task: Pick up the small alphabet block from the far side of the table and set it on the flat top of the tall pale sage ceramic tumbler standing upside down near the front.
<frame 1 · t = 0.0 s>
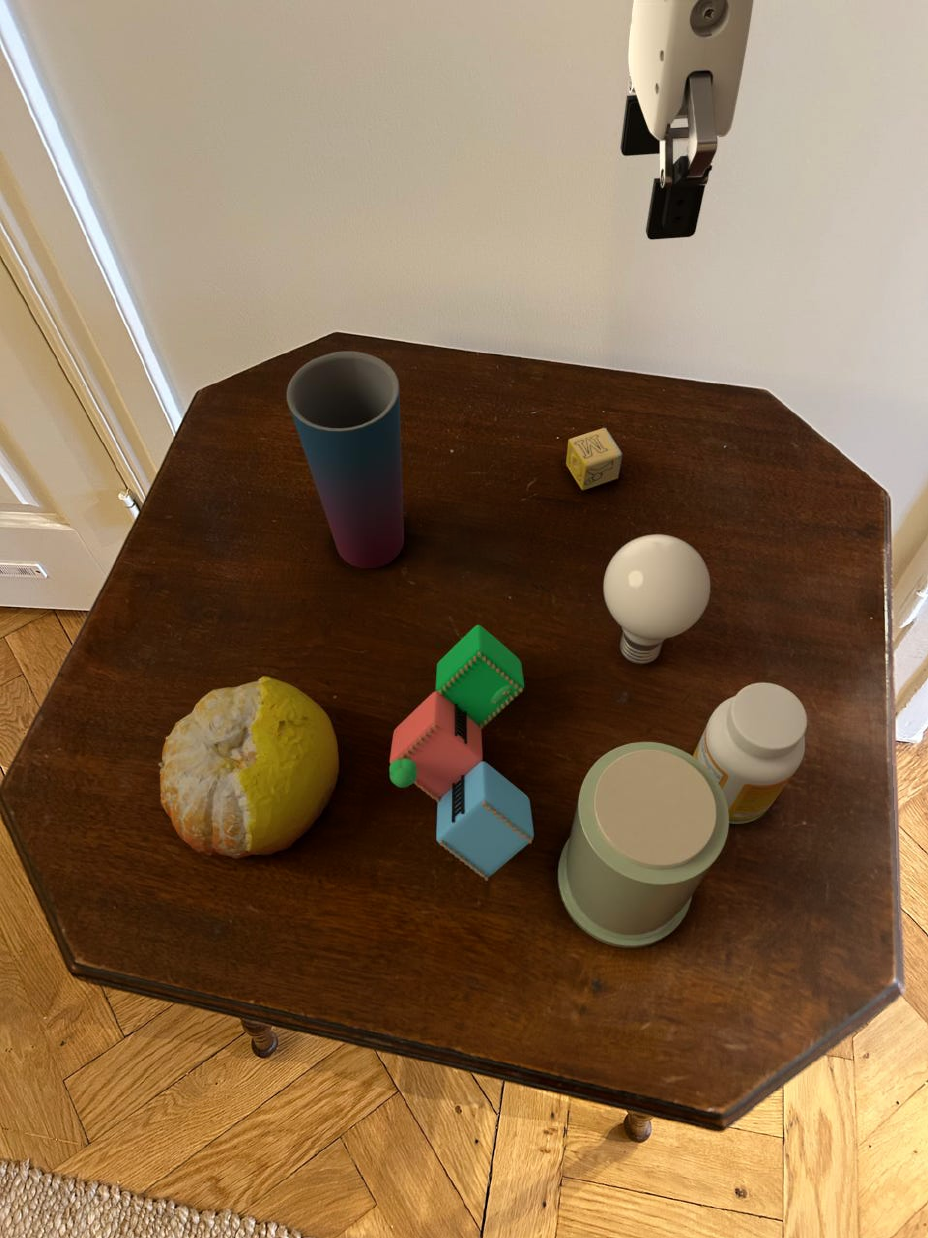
hand: (655, 192, 63), 16 cm above the table, tool pointing down, fingers open, 9 cm apart
building blocks: (481, 768, 58), on the table
alphabet block: (591, 474, 70), on the table
fruit: (256, 783, 57), on the table
upturned tumbler: (655, 805, 43), on the table
supplement bottle: (728, 785, 56), on the table
cup: (370, 543, 67), on the table
lightbulb: (638, 653, 62), on the table
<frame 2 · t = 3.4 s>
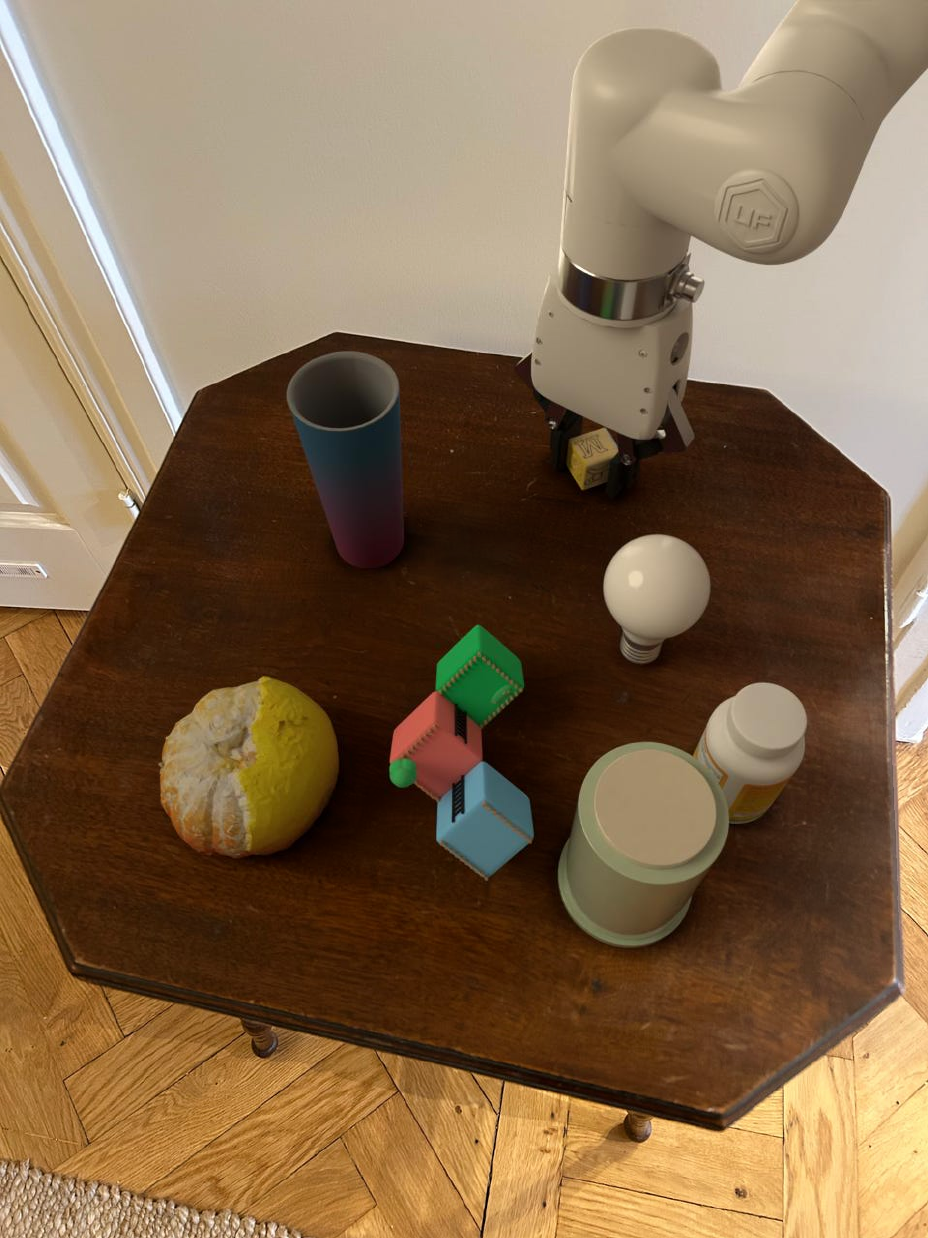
hand: (592, 469, 70), 0 cm above the table, tool pointing down, fingers closed on alphabet block, 4 cm apart
alphabet block: (591, 474, 70), on the table, touching gripper
everything else where it was.
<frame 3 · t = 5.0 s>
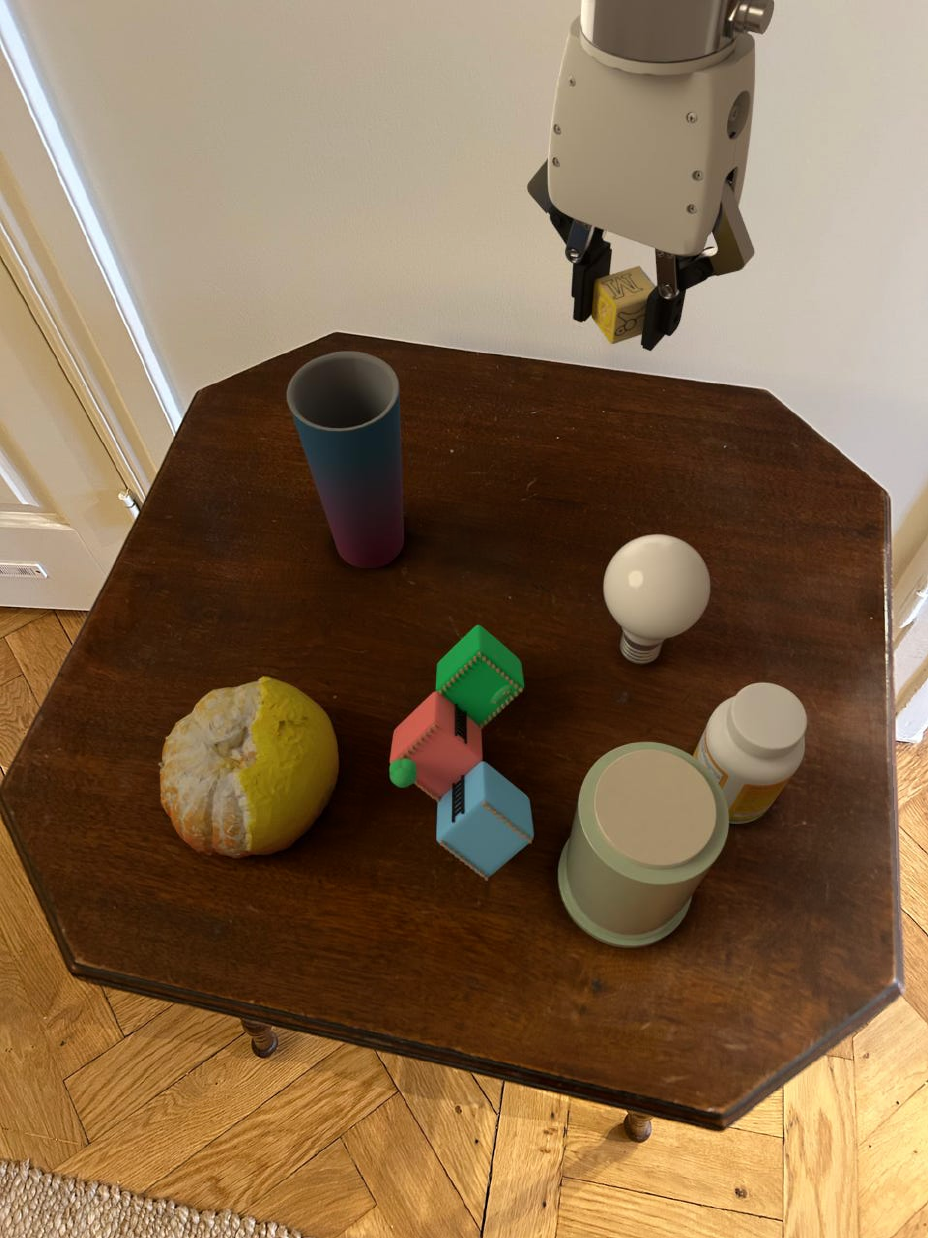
hand: (623, 320, 57), 15 cm above the table, tool pointing down, fingers closed on alphabet block, 4 cm apart
alphabet block: (622, 327, 58), point 14 cm above the table, touching gripper
everything else where it was.
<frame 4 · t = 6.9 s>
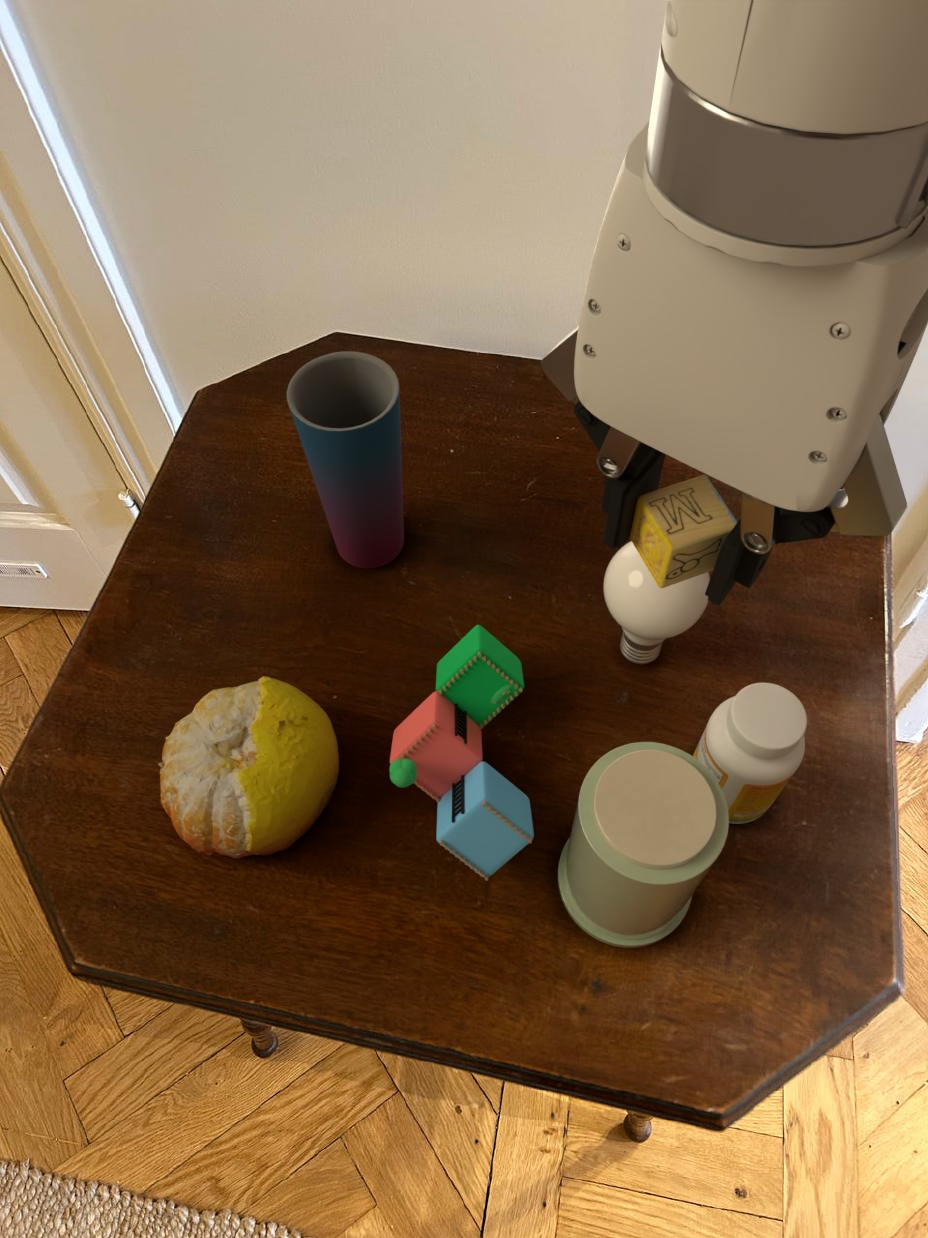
hand: (678, 549, 39), 22 cm above the table, tool pointing down, fingers closed on alphabet block, 4 cm apart
alphabet block: (675, 556, 39), point 22 cm above the table, touching gripper
everything else where it was.
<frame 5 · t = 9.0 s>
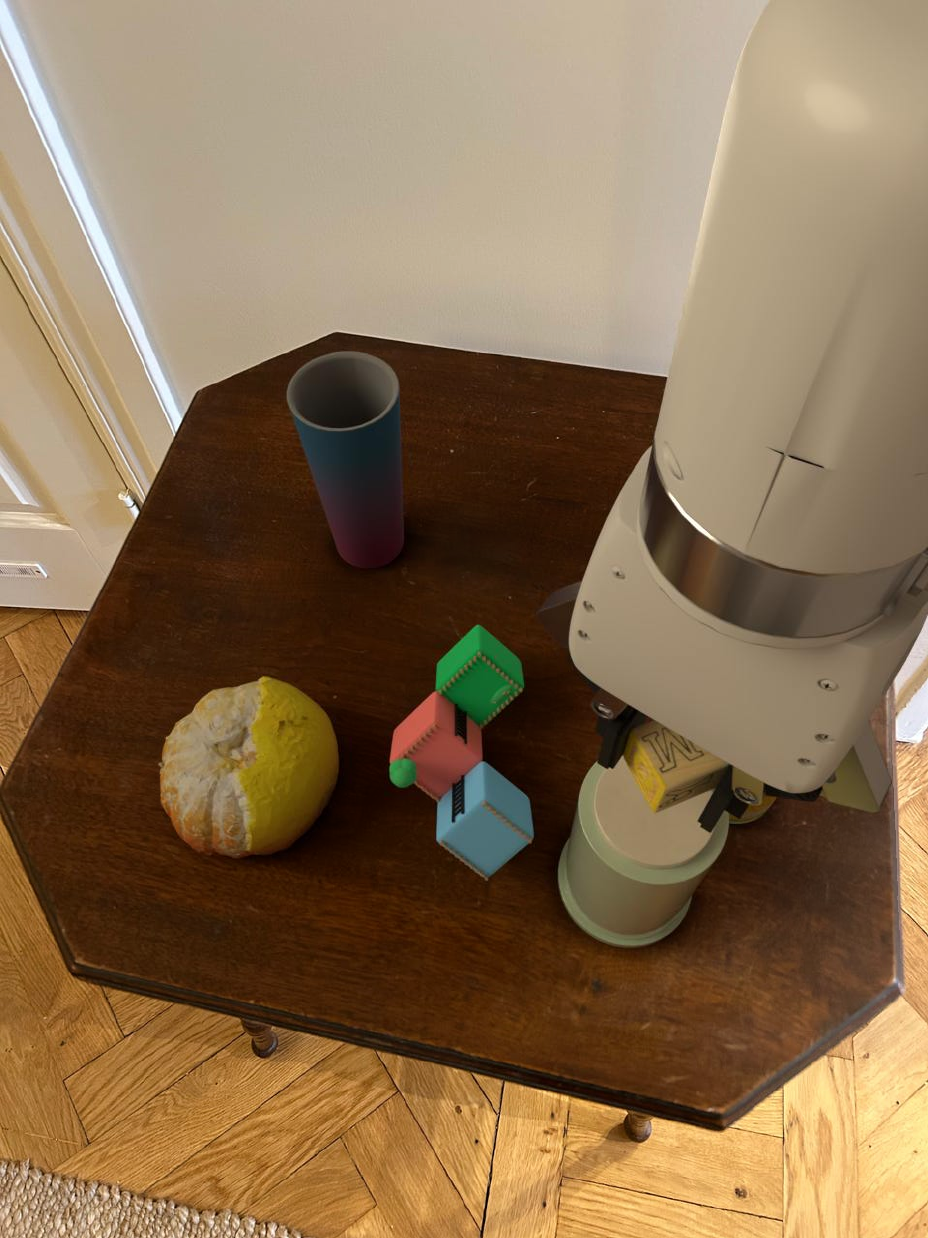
hand: (670, 770, 40), 16 cm above the table, tool pointing down, fingers closed on alphabet block, 4 cm apart
alphabet block: (667, 775, 40), point 16 cm above the table, touching gripper
everything else where it was.
when the fingers open (12 cm above the table, at t = 10.3 s): alphabet block stays where it is, resting on upturned tumbler.
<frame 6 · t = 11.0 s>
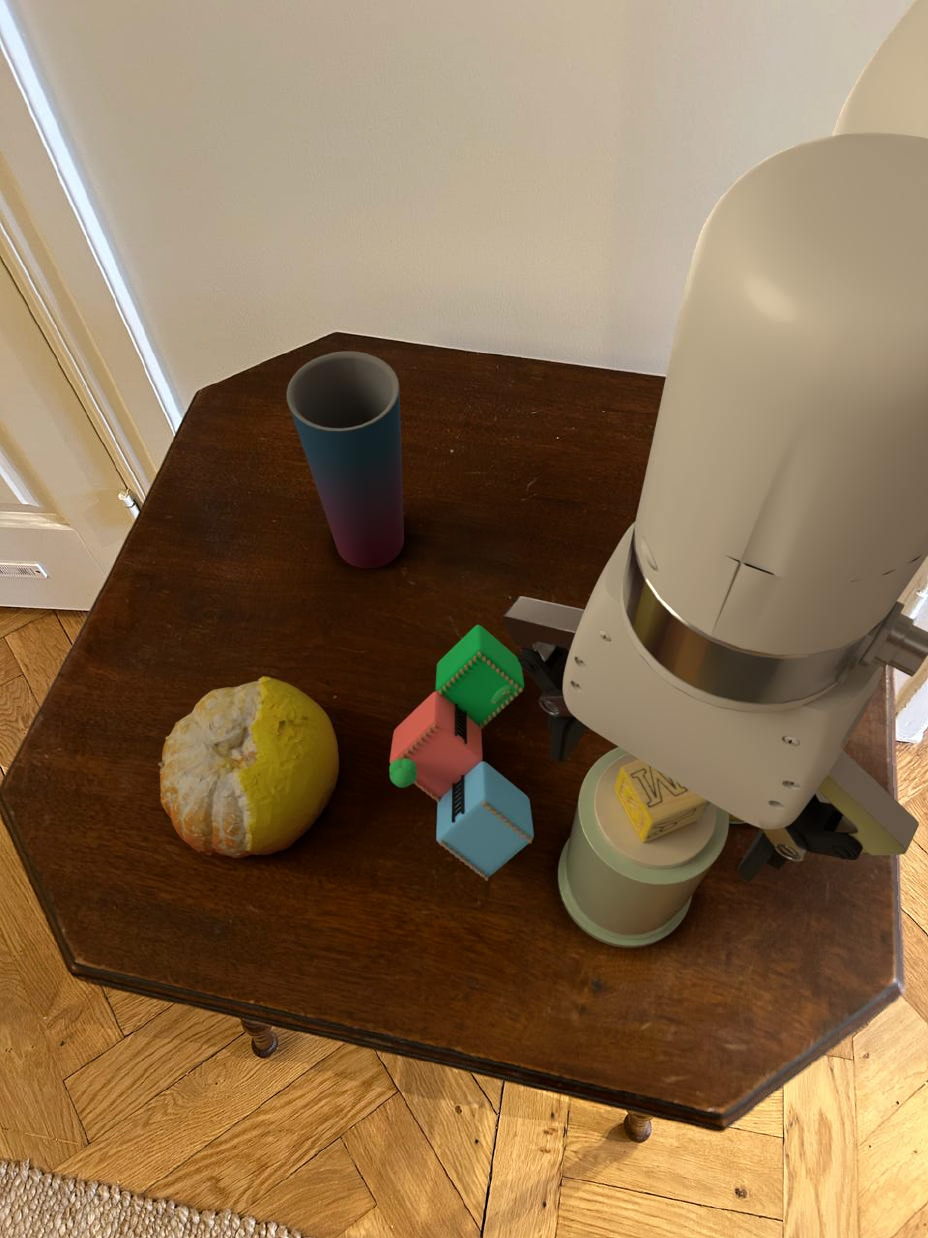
hand: (661, 792, 42), 14 cm above the table, tool pointing down, fingers open, 9 cm apart
alphabet block: (655, 807, 43), point 12 cm above the table, touching upturned tumbler
everything else where it was.
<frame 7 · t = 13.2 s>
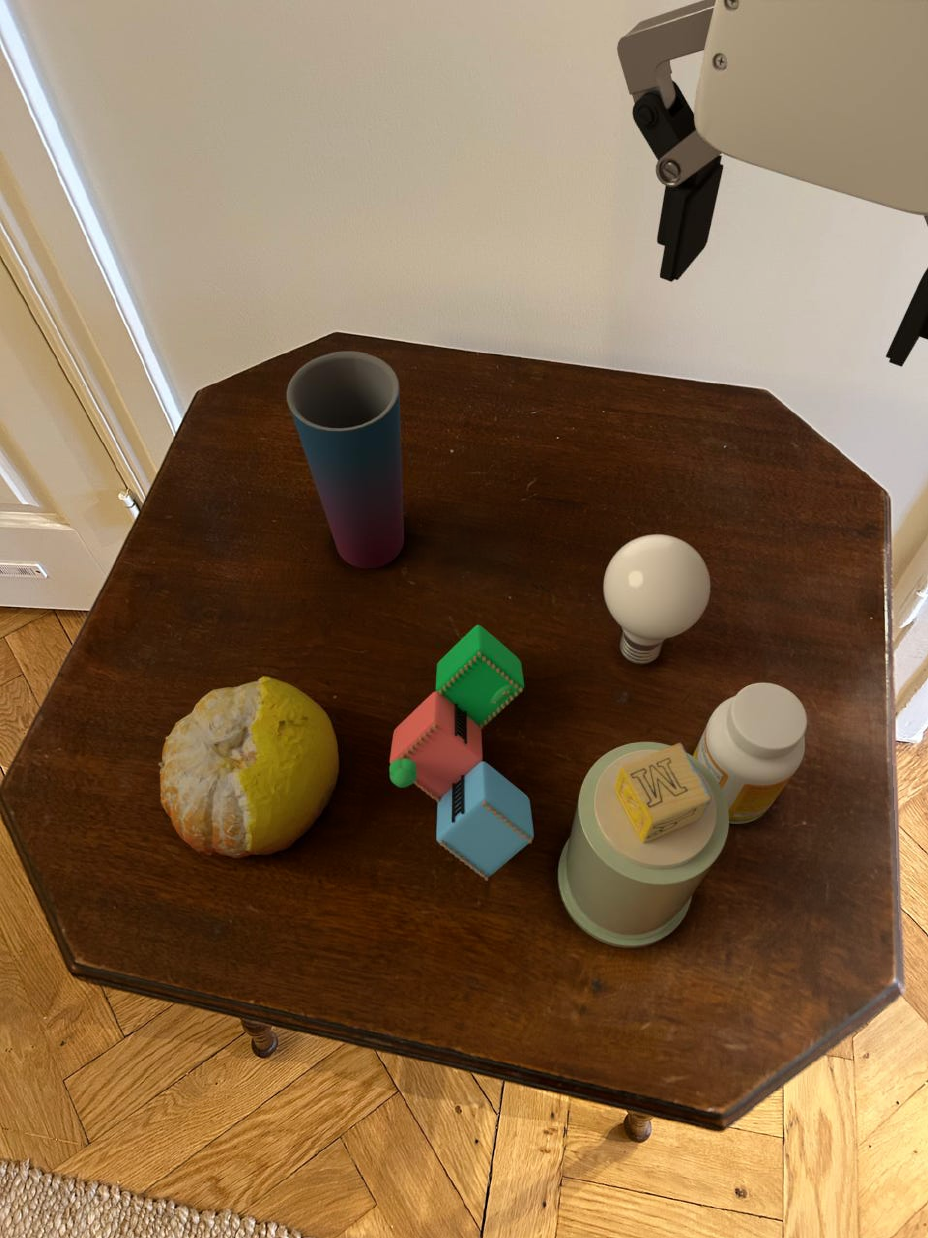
hand: (789, 301, 37), 29 cm above the table, tool pointing down, fingers open, 9 cm apart
nothing on the table moved.
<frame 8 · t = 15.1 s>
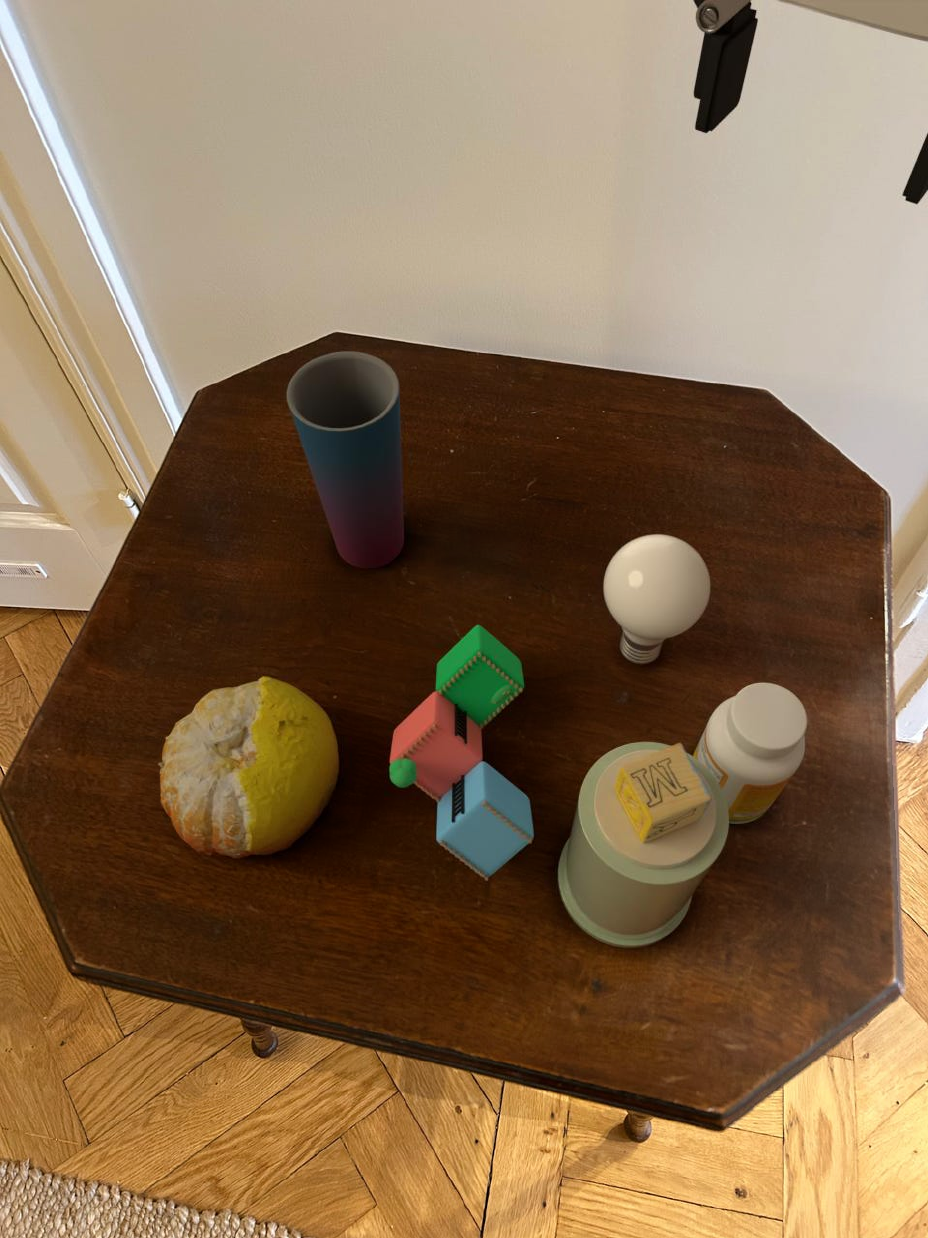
hand: (814, 151, 40), 30 cm above the table, tool pointing down, fingers open, 9 cm apart
nothing on the table moved.
at the end: alphabet block 0.0 cm off-centre on the upturned tumbler, point 0.0 cm above the upturned tumbler's base; the gripper is holding nothing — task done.
